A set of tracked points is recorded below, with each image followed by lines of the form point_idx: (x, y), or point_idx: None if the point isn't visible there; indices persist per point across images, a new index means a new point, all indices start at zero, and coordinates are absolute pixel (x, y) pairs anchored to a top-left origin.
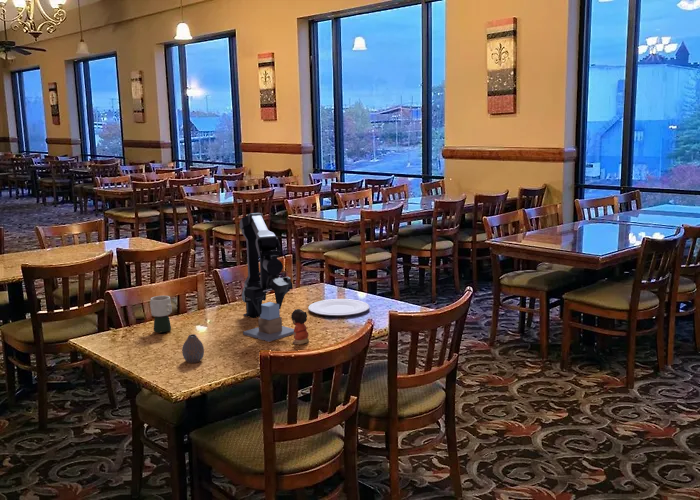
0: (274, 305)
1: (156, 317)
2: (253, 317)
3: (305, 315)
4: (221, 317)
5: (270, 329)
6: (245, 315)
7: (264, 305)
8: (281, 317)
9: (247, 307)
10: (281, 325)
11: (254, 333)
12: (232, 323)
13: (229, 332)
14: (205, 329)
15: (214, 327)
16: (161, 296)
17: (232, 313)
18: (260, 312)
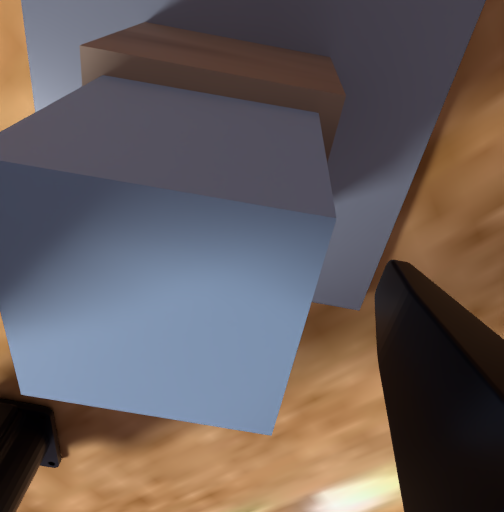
0: (138, 182)
1: None
2: (49, 412)
3: None
4: (154, 508)
5: (320, 65)
6: (58, 453)
7: (278, 354)
8: (85, 46)
9: (23, 495)
10: (134, 30)
11: (369, 210)
12: (197, 441)
13: (355, 381)
14: (359, 483)
15: (308, 470)
16: None
17: (74, 502)
18: (426, 277)
